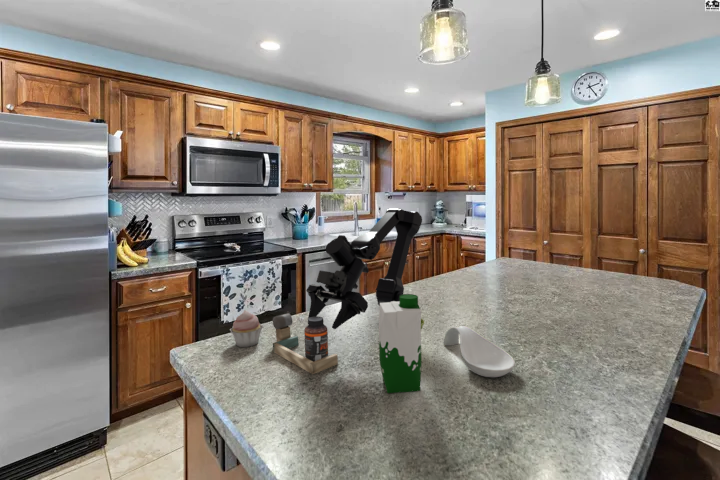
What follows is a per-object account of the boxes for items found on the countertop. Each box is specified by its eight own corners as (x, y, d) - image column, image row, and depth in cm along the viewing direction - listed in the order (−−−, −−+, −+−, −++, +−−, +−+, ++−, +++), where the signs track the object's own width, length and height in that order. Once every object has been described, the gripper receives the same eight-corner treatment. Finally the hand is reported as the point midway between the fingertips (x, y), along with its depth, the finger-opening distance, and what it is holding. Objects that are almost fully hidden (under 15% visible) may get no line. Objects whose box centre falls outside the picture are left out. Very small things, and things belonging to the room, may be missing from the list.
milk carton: (425, 393, 78) (424, 301, 76) (383, 396, 77) (381, 303, 75) (415, 373, 87) (414, 291, 85) (377, 376, 86) (375, 292, 84)
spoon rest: (525, 380, 83) (526, 349, 82) (480, 388, 80) (480, 356, 79) (467, 342, 106) (467, 318, 105) (430, 347, 103) (430, 322, 102)
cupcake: (253, 335, 115) (252, 304, 114) (269, 342, 109) (267, 309, 108) (225, 343, 109) (222, 310, 108) (239, 352, 102) (237, 317, 101)
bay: (337, 364, 93) (337, 354, 93) (312, 374, 88) (312, 364, 88) (296, 344, 107) (296, 335, 107) (273, 351, 102) (272, 343, 102)
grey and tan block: (295, 342, 108) (294, 313, 107) (280, 347, 105) (278, 317, 104) (289, 339, 111) (287, 310, 110) (273, 344, 108) (272, 314, 107)
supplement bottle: (324, 366, 92) (323, 322, 91) (302, 365, 93) (300, 321, 92) (331, 356, 98) (329, 315, 97) (309, 355, 99) (308, 314, 98)
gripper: (310, 256, 104) (279, 302, 97) (359, 261, 92) (329, 315, 85) (330, 278, 111) (303, 323, 104) (379, 286, 99) (353, 338, 92)
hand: (320, 324), depth 96 cm, fingers open, 9 cm apart
